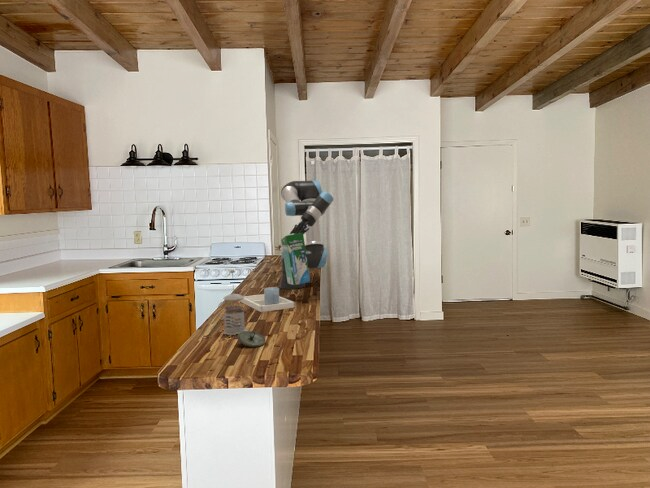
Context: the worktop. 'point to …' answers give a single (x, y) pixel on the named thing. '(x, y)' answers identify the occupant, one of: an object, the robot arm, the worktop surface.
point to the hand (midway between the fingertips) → (282, 250)
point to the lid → (251, 338)
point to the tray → (259, 305)
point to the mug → (271, 295)
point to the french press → (229, 325)
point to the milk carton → (295, 259)
